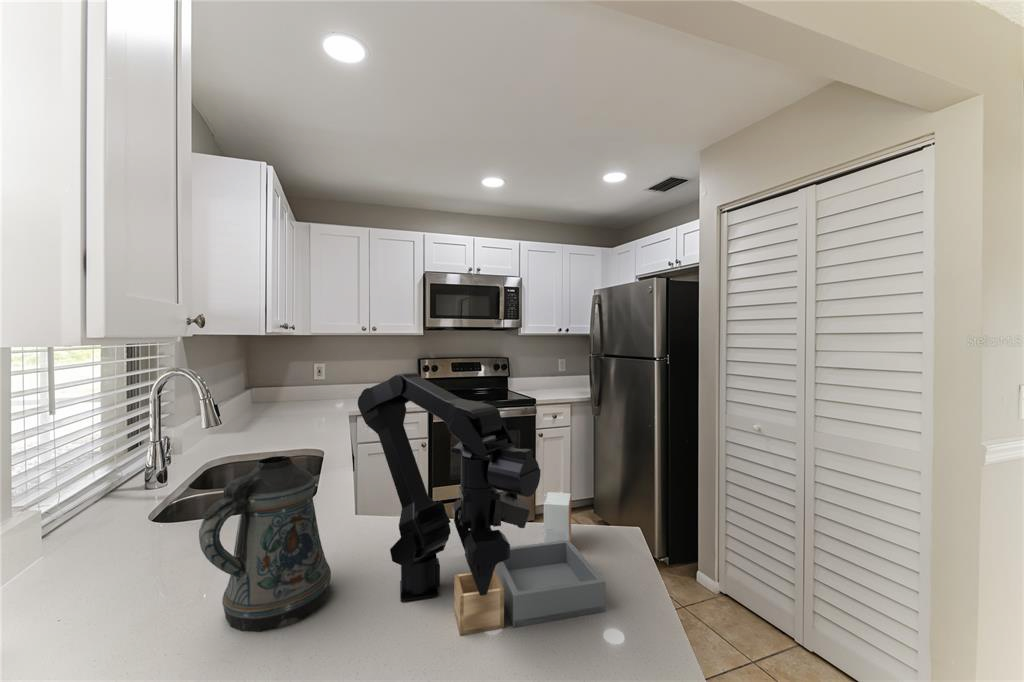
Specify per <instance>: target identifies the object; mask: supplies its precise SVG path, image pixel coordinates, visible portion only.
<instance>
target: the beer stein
mask: <svg viewBox="0 0 1024 682" xmlns="http://www.w3.org/2000/svg"><path fill="white" fill-rule="evenodd" d="M316 485H317V479H316V477H315V476H314V475H313V474H312V473H310V472H309V471H308V470H306V469H304V468H302V467H300V466H298V465H297V464H295V463H293V462H292V460H291V458H290V456H286V455H278V456H277V455H276V456H275V455H274V456H270V457H266V458H263V459H260V460H259V461H257V464H256V466H255V468H253V469H252V470H251V471H250V472H249V473H248V474H247V475H244V476H240V477H238V478H235V479H232V480H230V481H229V482H227V483H226V484H225V486H224V489H223V498H221V499H220V500H217V501H215V502H214V503H213V504H212V505H210V507H208V509H206V511H205V512H204V514H203V519H202V521H201V524H200V527H199V529H198V541H199V546H200V549H201V552H202V554H203V555H204V556H205V558H206V559H207V560H208V561H209V562H210V563H211V564H212V565H213V566H214V567H216V568H217V569H219V571H220V570H221V571H222V572H224V573H225V574H227V575H230V576H229V580H228V582H227V586H226V587H225V590H224V592H223V595H222V602H221V604H222V608H223V611H224V615H225V617H224V618H225V619H226V621H227V622H228V624H229V626H230V627H231V628H232V629H236V630H238V631H240V632H249V633H251V632H254V633H260V632H261V633H262V632H268V631H272V630H277V629H282V628H284V627H287V626H290V625H293V624H296V623H299V622H300V621H302V620H303V619H305V618H307V617H308V616H310V615H312V614H313V613H314V612H315V611H316V610H318V609H319V608H321V607H322V605H323V604H324V603H325V601H326V600H327V599H328V591H329V587H330V582H331V577H332V571H331V568H330V565H329V563H328V561H327V558H326V555H325V553H324V549H323V545H322V540H321V538H320V532H319V527H318V520H317V515H316V509H315V508H316V507H315V503H314V492H315V491H316ZM238 515H239V518H238V522H237V530H236V535H235V542H234V548H233V550H234V551H233V555H232V553H230V552H229V551H228V550H227V549H226V548H225V547H224V546H223V544H222V542H221V539H220V537H221V536H220V535H221V530H222V527H223V526H224V524H225V522H226V521H227V520H228V519H230V517H233V516H238Z"/></svg>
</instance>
